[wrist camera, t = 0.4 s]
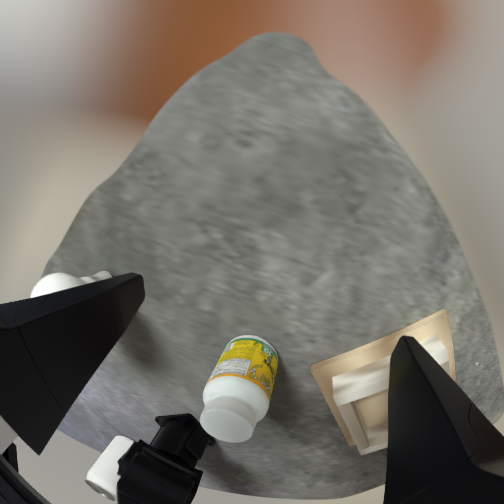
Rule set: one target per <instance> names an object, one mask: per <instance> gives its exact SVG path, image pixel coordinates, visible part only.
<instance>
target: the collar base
mask: <svg viewBox="0 0 504 504" xmlns="http://www.w3.org/2000/svg"><path fill="white" fill-rule="evenodd" d="M403 335H406V336H412V337H414V338H415V339H416V340H417V341H418V342H419V343H420V344H421V345H422V346H423V348H424V349H425V350H426V351H427V352H428V353H429V354H430V355H431V356H432V357H433V358H434V359H435V360H436V361H437V362H438V364H439V365H440V366H441V367H442V368H443V369H444V370H445V371H446V372H447V373H448V375H449V376H450V377H451V378H452V379H453V380H454V381H455V382H456V377H455V363H454V353H453V344H452V337H451V329H450V323H449V317H448V313H447V311H446V310H445V309H442V310H440V311H438V312H436V313H434V314H432V315H430V316H428V317H426V318H424V319H422V320H420V321H418V322H416V323H414V324H412V325H410V326H408V327H405V328H403V329H401V330H399V331H397V332H395V333H392V334H390V335H388V336H385V337H383V338H381V339H378V340H376V341H374V342H371V343H369V344H366V345H364V346H361V347H359V348H356V349H354V350H351V351H348V352H346V353H343V354H340V355H338V356H335V357H332V358H329V359H326V360H324V361H321V362H318V363H315V364H312V365H311V372H312V374H313V376H314V378H315V380H316V382H317V384H318V386H319V388H320V390H321V392H322V394H323V396H324V398H325V400H326V402H327V404H328V405H329V407H330V409H331V411H332V413H333V415H334V417H335V419H336V421H337V423H338V425H339V427H340V429H341V431H342V433H343V435H344V437H345V439H346V441H347V443H348V445H349V447H350V446H354V445H356V446H357V448H358V451H359V453H360V455H364V454H368V453H371V452H374V451H377V450H381V449H384V448H387V447H388V388H389V373H390V358H391V354H392V352H393V350H394V348H395V346H396V344H397V342H398V340H399V339H400V337H401V336H403Z"/></svg>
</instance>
